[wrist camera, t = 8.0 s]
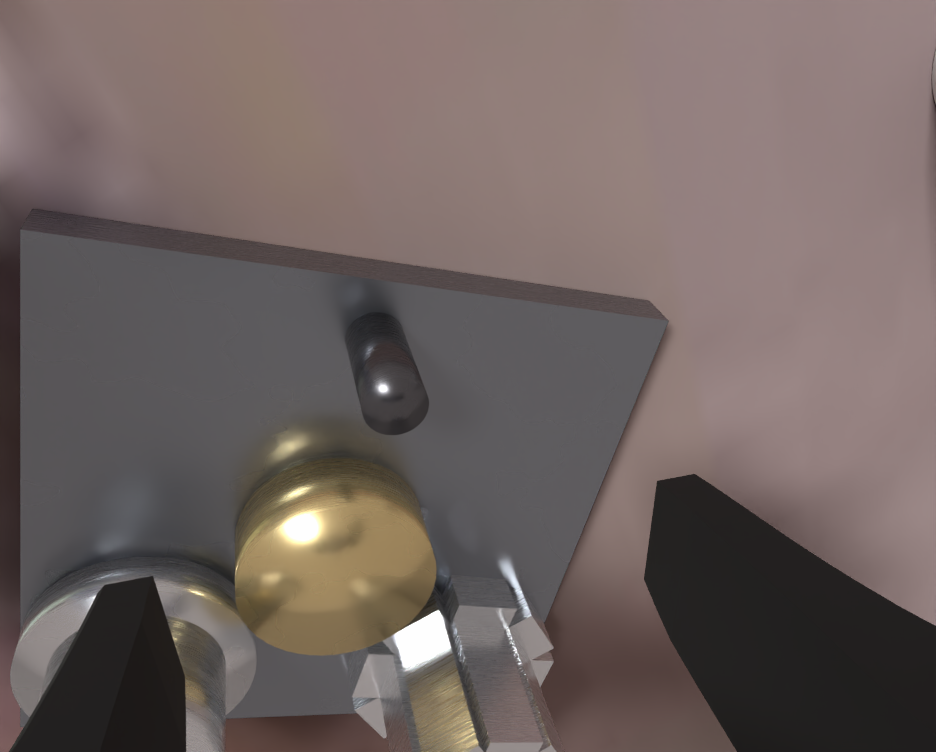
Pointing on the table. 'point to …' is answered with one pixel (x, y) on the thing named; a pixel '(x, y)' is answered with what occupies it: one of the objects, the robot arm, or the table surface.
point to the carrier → (309, 430)
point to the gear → (460, 674)
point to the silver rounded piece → (191, 624)
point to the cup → (934, 78)
